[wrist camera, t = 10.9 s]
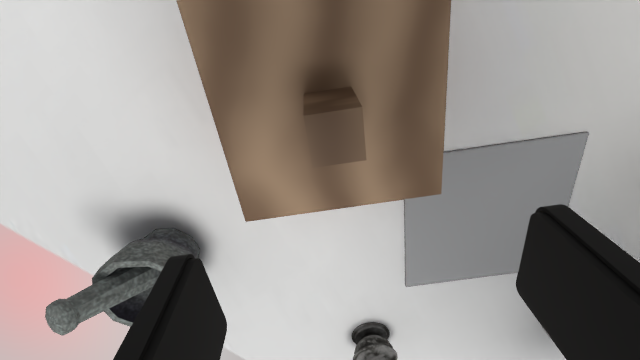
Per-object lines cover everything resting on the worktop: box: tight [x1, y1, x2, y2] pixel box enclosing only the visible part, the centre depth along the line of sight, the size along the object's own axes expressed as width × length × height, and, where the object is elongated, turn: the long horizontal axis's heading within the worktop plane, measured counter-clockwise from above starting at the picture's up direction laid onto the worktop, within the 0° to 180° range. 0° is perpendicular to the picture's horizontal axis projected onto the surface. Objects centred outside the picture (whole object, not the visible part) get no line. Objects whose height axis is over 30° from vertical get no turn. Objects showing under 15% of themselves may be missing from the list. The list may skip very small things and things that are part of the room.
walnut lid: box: [177, 0, 451, 222], centre depth 21 cm, size 16×16×6 cm
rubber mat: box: [404, 132, 589, 287], centre depth 36 cm, size 18×18×1 cm
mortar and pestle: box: [45, 228, 200, 335], centre depth 31 cm, size 11×9×12 cm
